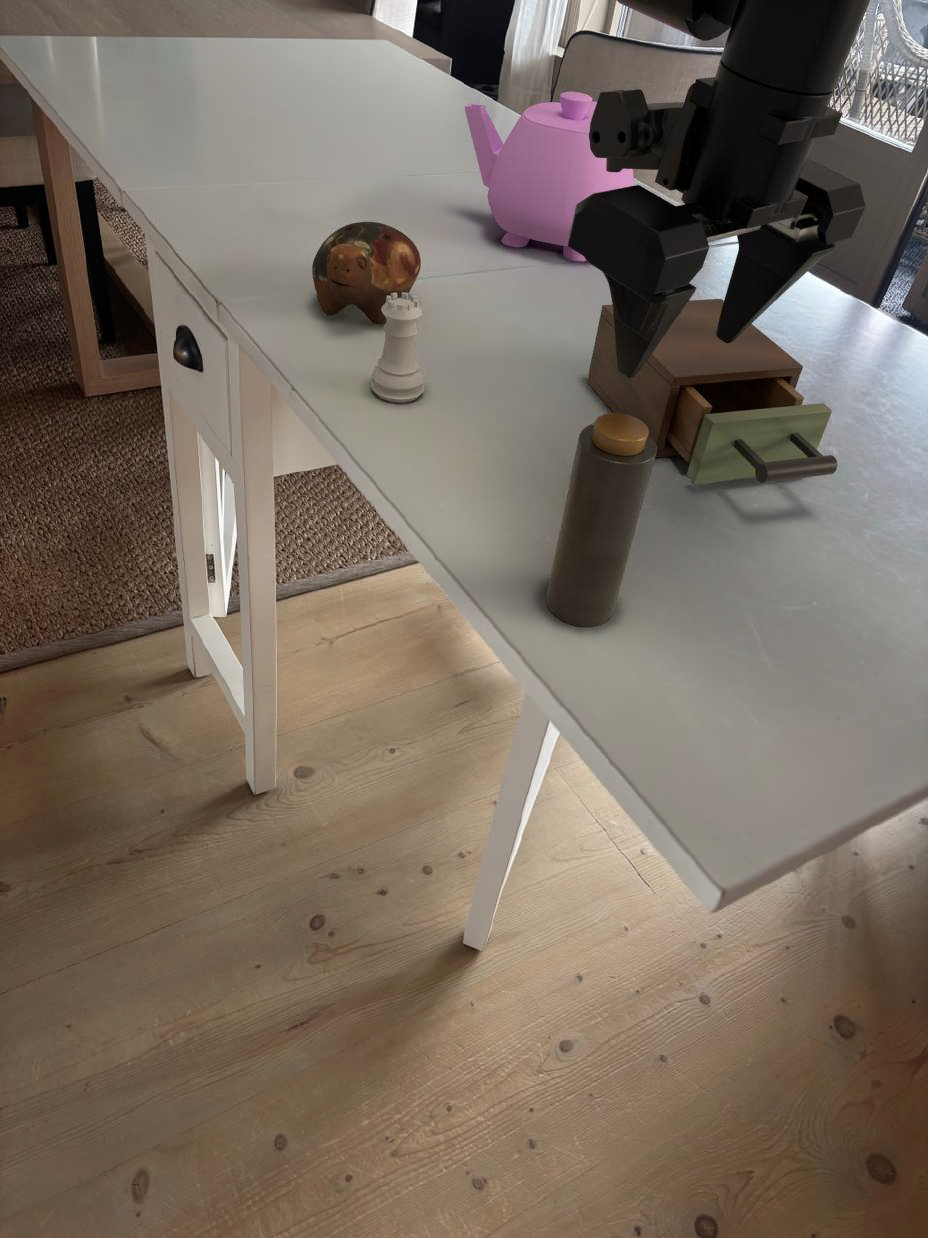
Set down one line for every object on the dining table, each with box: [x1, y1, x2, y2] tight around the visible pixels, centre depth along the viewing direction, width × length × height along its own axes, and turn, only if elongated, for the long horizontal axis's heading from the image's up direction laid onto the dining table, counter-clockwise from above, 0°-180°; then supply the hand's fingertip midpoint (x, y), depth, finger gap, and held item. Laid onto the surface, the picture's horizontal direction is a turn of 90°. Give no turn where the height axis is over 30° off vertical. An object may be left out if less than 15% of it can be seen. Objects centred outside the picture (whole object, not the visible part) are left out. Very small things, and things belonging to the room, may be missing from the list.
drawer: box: [666, 377, 838, 485], centre depth 73 cm, size 16×10×5 cm, turn 19°
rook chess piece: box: [370, 292, 425, 404], centre depth 76 cm, size 4×4×8 cm
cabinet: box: [586, 298, 804, 459], centre depth 78 cm, size 13×12×7 cm
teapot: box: [464, 91, 635, 262], centre depth 105 cm, size 20×20×15 cm
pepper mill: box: [545, 412, 657, 628], centre depth 56 cm, size 4×4×13 cm
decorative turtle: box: [311, 221, 422, 326], centre depth 88 cm, size 10×15×8 cm, turn 170°
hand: (676, 356), depth 57 cm, fingers open, 9 cm apart
